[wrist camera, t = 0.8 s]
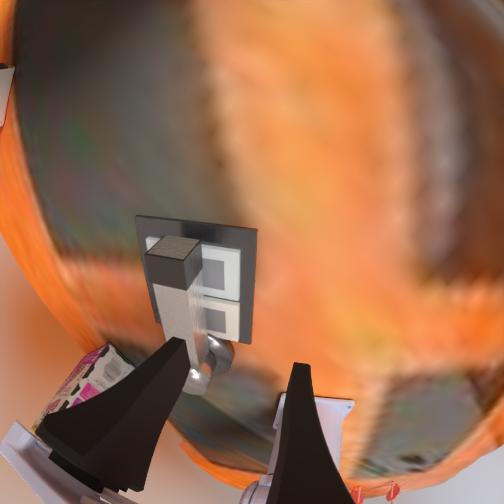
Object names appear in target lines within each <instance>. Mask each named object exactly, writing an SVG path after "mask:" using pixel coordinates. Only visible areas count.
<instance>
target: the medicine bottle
mask: <svg viewBox="0 0 504 504" xmlns="http://www.w3.org/2000/svg"><path fill="white" fill-rule="evenodd" d="M14 71H15V67H14V66H12V65H8V64H3V63H0V127H1V126H3V125H4V123H5V116H6V109H7V103H8V97H9V92H10V87H11V83H12V79H13V74H14Z"/></svg>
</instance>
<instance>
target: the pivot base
mask: <svg viewBox="0 0 504 504" xmlns="http://www.w3.org/2000/svg"><path fill="white" fill-rule="evenodd" d="M207 333H208V332H207ZM208 342H209V352H211V353H212V354H213V355H214V357H215V358H216V360H217V366H216V368H215V371H214V373H213V375H219V374H223V373H225V372H227V371H228V370H229V369H230V366H231V364H232V361H233V358H234V354H235V352H234V348H233V346H232V344H231V342H230V341H229V340H225V339H221V338H217V337H215V336H214V335H212V334H210V333H208Z"/></svg>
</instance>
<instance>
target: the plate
mask: <svg viewBox="0 0 504 504" xmlns="http://www.w3.org/2000/svg"><path fill="white" fill-rule="evenodd" d="M135 220H136V227H137V233H138V239H139V245H140V251H141V256H142V261H143V267H144V272H145V276H146V281H147V286H148V290H149V295H150V299H151V303H152V307H153V311H154V315H155V319H156V322H157V323H160V324H162V322H161V318H160V314H159V310H158V305H157V301H156V296H155V292H154V287H153V283H149V278H148V273H147V268H146V263H145V258H144V254H145V253H146V252H147V251H148V250H147V244H146V238H148V237H154V238H162V237H163V236H164V235H168V236H176V237H183V238H190V239H197V240H201V244H203V245H210V246H217V247H224V248H230V249H237V250H240V298H239V301H235V300H230V299H224V298H219V297H214V296H209V295H204V296H206V297H211V298H216V299H221V300H227V301H232V302H238V303H240V313H239V341H238V342H240V343H245V344H250V345H251V342H252V324H253V306H254V288H255V269H256V250H257V231H258V229H253V228H246V227H238V226H230V225H221V224H213V223H205V222H196V221H187V220H178V219H169V218H160V217H151V216H141V215H137V216H135ZM225 340H226V339H225ZM230 341H231V340H230ZM235 342H236V341H235Z"/></svg>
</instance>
